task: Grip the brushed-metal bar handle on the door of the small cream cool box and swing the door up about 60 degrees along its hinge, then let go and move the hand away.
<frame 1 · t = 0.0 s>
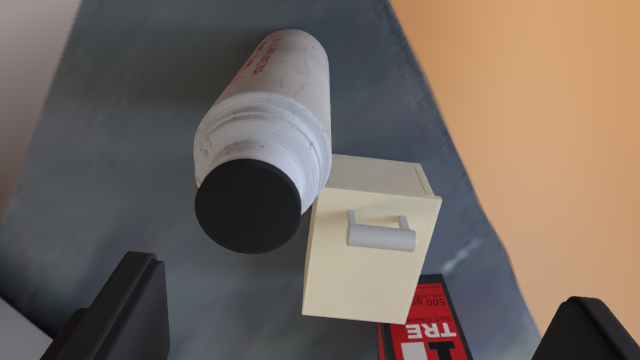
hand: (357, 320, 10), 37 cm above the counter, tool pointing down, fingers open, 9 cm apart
cleaning product box: (407, 319, 61), on the counter
thermos bottle: (291, 68, 44), on the counter
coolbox: (358, 214, 52), on the counter
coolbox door: (367, 274, 42), point 12 cm above the counter, hinge at 0.0°
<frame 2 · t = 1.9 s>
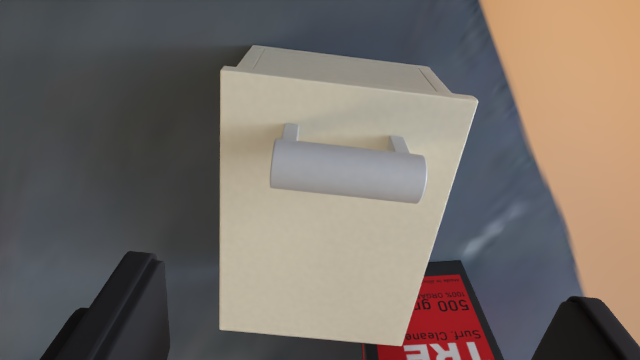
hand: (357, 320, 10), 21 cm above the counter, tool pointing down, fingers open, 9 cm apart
cleaning product box: (407, 328, 40), on the counter
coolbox: (326, 161, 31), on the counter
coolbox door: (328, 256, 21), point 12 cm above the counter, hinge at 0.0°
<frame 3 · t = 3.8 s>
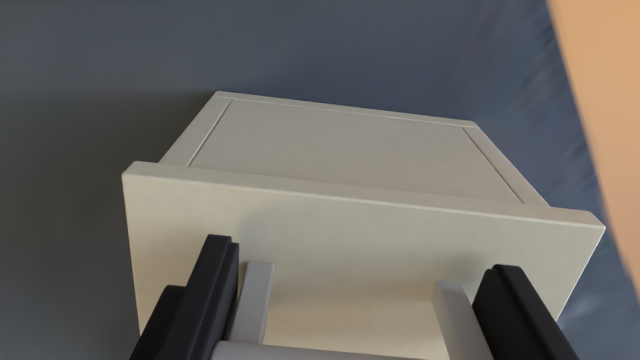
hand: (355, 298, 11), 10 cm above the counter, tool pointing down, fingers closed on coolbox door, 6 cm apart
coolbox: (325, 245, 23), on the counter
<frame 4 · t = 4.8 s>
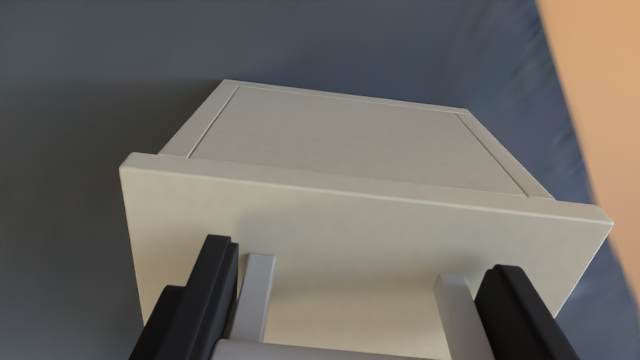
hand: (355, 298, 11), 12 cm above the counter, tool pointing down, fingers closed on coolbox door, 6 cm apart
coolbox: (326, 229, 24), on the counter
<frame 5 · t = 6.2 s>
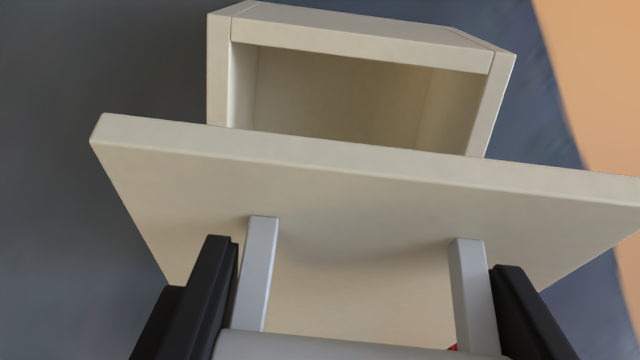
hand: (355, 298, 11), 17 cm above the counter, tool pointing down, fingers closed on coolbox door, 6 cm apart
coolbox: (332, 143, 27), on the counter
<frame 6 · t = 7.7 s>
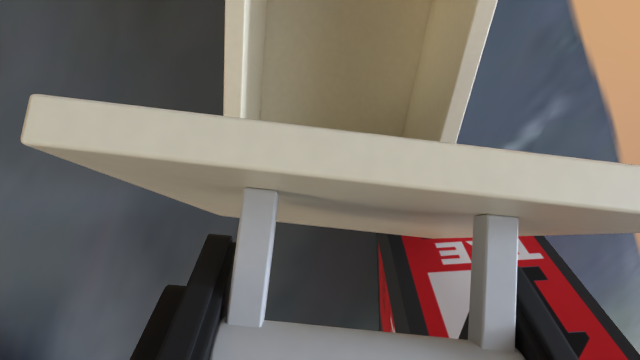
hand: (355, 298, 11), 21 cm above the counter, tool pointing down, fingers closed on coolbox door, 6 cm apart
cleaning product box: (428, 260, 36), on the counter
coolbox: (342, 42, 27), on the counter
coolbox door: (341, 274, 14), point 17 cm above the counter, hinge at 54.0°, touching gripper
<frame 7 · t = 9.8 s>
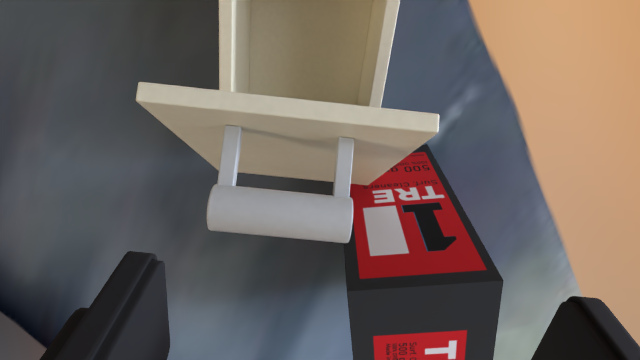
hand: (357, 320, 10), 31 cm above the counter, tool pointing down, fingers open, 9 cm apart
cleaning product box: (384, 216, 46), on the counter
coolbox: (307, 47, 37), on the counter
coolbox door: (288, 190, 24), point 17 cm above the counter, hinge at 54.3°
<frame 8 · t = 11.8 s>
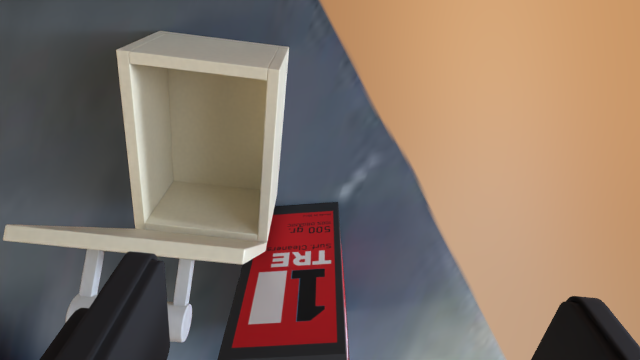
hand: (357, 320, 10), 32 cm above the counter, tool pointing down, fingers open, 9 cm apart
cleaning product box: (305, 262, 50), on the counter
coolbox: (223, 120, 42), on the counter
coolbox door: (168, 275, 29), point 17 cm above the counter, hinge at 54.3°
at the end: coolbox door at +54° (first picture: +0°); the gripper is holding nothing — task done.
